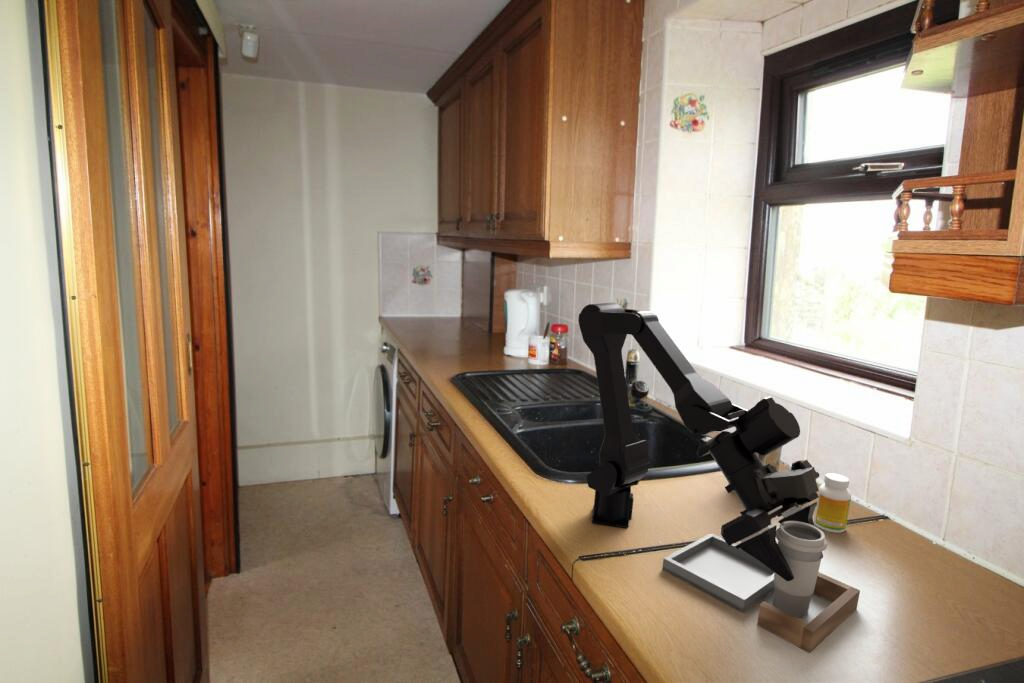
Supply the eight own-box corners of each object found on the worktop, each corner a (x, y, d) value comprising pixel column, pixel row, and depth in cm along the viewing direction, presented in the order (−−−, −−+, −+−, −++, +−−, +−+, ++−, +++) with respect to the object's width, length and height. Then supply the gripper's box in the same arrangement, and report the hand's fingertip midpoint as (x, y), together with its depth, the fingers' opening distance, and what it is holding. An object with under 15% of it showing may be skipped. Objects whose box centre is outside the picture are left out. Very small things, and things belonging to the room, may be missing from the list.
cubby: (757, 624, 87) (759, 604, 86) (806, 586, 97) (809, 568, 96) (809, 652, 81) (813, 632, 81) (856, 609, 91) (860, 590, 91)
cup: (774, 587, 96) (785, 514, 93) (821, 606, 92) (834, 530, 89) (758, 608, 90) (769, 531, 88) (807, 629, 86) (821, 548, 84)
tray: (662, 569, 99) (663, 558, 99) (709, 543, 108) (710, 533, 107) (742, 612, 89) (744, 599, 89) (787, 580, 98) (789, 568, 98)
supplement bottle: (849, 535, 114) (858, 485, 112) (817, 531, 115) (825, 481, 113) (840, 522, 119) (848, 473, 117) (810, 517, 120) (817, 469, 118)
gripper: (752, 458, 83) (825, 572, 77) (814, 432, 95) (881, 529, 89) (693, 493, 90) (756, 599, 84) (758, 464, 103) (817, 556, 97)
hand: (806, 569), depth 89 cm, fingers open, 9 cm apart
